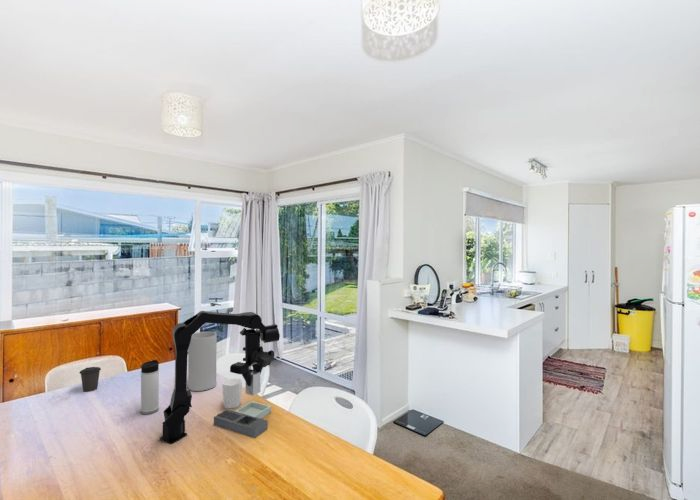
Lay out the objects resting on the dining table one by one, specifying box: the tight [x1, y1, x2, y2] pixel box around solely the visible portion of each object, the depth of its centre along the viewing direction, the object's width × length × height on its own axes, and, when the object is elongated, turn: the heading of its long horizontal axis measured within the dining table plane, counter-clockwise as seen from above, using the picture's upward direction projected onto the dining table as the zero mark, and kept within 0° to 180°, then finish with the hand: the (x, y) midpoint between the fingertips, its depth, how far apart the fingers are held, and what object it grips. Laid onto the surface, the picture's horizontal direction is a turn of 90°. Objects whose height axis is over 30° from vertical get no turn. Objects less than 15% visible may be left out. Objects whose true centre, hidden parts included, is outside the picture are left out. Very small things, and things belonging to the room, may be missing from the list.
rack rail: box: [213, 408, 269, 439], centre depth 129 cm, size 7×20×3 cm, turn 64°
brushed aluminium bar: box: [245, 369, 261, 397], centre depth 136 cm, size 4×4×8 cm
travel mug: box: [140, 359, 160, 415], centre depth 141 cm, size 6×7×20 cm
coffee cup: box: [78, 366, 102, 393], centre depth 162 cm, size 8×8×10 cm
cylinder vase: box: [187, 331, 218, 392], centre depth 166 cm, size 12×12×25 cm
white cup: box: [222, 377, 243, 409], centre depth 147 cm, size 8×8×10 cm
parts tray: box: [235, 400, 272, 419], centre depth 138 cm, size 10×10×3 cm
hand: (252, 383), depth 136 cm, fingers closed on brushed aluminium bar, 4 cm apart
